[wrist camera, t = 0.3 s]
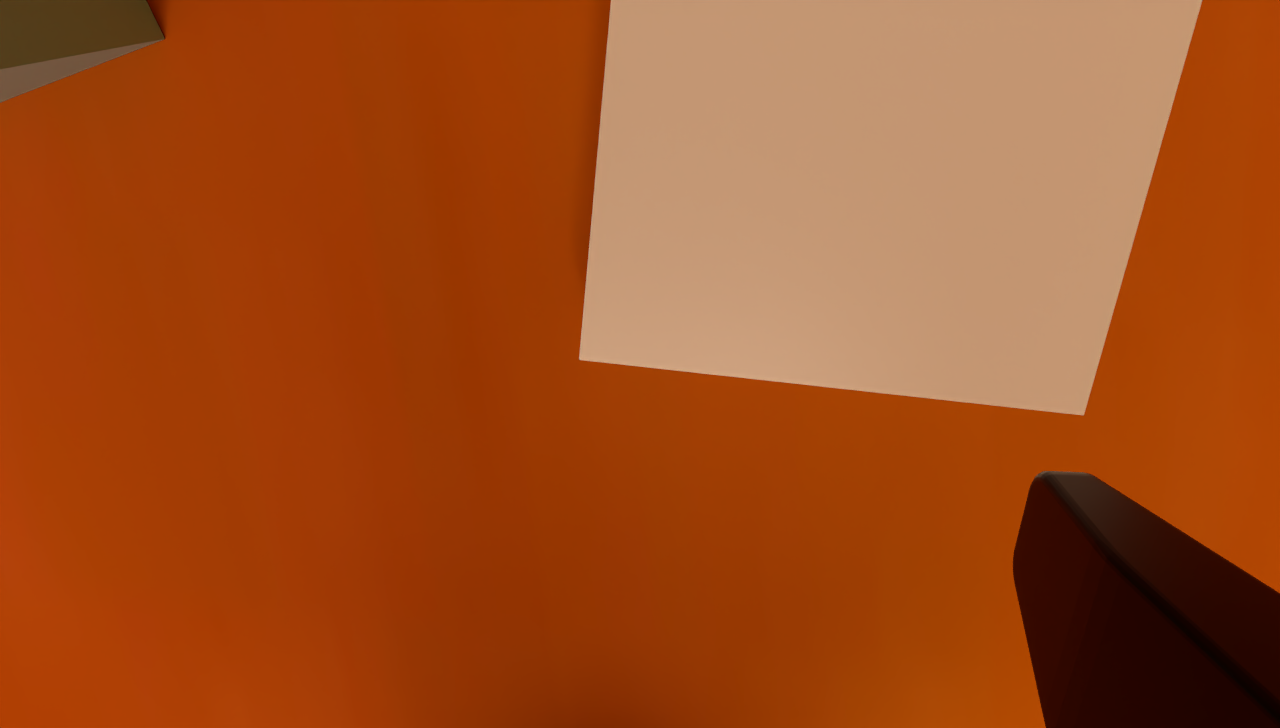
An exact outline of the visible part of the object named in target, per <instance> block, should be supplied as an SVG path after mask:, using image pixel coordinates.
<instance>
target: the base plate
mask: <svg viewBox="0 0 1280 728" xmlns="http://www.w3.org/2000/svg"><path fill="white" fill-rule="evenodd" d="M1201 3H1202V0H611V6H610V18H609V29H608V40H607V51H606V62H605V74H604V85H603V96H602V107H601V119H600V130H599V141H598V152H597V164H596V175H595V186H594V197H593V208H592V220H591V231H590V242H589V253H588V265H587V276H586V287H585V298H584V310H583V321H582V332H581V343H580V355H579V360H585V361H594V362H603V363H612V364H622V365H631V366H640V367H649V368H658V369H667V370H676V371H685V372H694V373H703V374H712V375H721V376H731V377H740V378H749V379H758V380H767V381H776V382H785V383H794V384H803V385H812V386H821V387H830V388H840V389H849V390H858V391H867V392H876V393H885V394H894V395H903V396H912V397H921V398H930V399H939V400H949V401H958V402H967V403H976V404H985V405H994V406H1003V407H1012V408H1021V409H1030V410H1039V411H1048V412H1057V413H1067V414H1076V415H1084V413H1085V409H1086V406H1087V402H1088V399H1089V395H1090V392H1091V388H1092V385H1093V381H1094V377H1095V374H1096V370H1097V367H1098V363H1099V360H1100V356H1101V353H1102V349H1103V346H1104V342H1105V339H1106V335H1107V332H1108V328H1109V325H1110V321H1111V318H1112V314H1113V311H1114V307H1115V304H1116V300H1117V297H1118V293H1119V290H1120V286H1121V283H1122V279H1123V276H1124V272H1125V269H1126V265H1127V262H1128V258H1129V255H1130V251H1131V248H1132V244H1133V241H1134V237H1135V234H1136V230H1137V227H1138V223H1139V220H1140V216H1141V213H1142V209H1143V206H1144V202H1145V199H1146V195H1147V192H1148V188H1149V185H1150V181H1151V178H1152V174H1153V171H1154V167H1155V164H1156V160H1157V157H1158V153H1159V150H1160V146H1161V143H1162V139H1163V136H1164V132H1165V129H1166V125H1167V122H1168V118H1169V115H1170V111H1171V108H1172V104H1173V101H1174V97H1175V94H1176V90H1177V87H1178V83H1179V80H1180V76H1181V73H1182V69H1183V66H1184V62H1185V59H1186V55H1187V52H1188V48H1189V45H1190V41H1191V38H1192V34H1193V31H1194V27H1195V24H1196V20H1197V17H1198V13H1199V10H1200V6H1201Z"/></svg>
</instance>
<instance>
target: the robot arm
mask: <svg viewBox="0 0 1280 728" xmlns="http://www.w3.org/2000/svg"><path fill="white" fill-rule="evenodd" d="M1013 575H1014V582H1015V587H1016V592H1017V596H1018V601H1019V606H1020V610H1021V615H1022V620H1023V624H1024V629H1025V634H1026V638H1027V643H1028V648H1029V652H1030V657H1031V661H1032V666H1033V671H1034V675H1035V680H1036V685H1037V689H1038V694H1039V699H1040V703H1041V708H1042V713H1043V717H1044V721H1045V726H1046V728H1280V593H1278V592H1277V591H1275V590H1274V589H1272V588H1270V587H1269V586H1267V585H1266V584H1264V583H1263V582H1261V581H1259V580H1258V579H1256V578H1255V577H1253V576H1251V575H1250V574H1248V573H1247V572H1245V571H1244V570H1242V569H1240V568H1239V567H1237V566H1236V565H1234V564H1232V563H1231V562H1229V561H1228V560H1226V559H1225V558H1223V557H1221V556H1220V555H1218V554H1217V553H1215V552H1214V551H1212V550H1210V549H1209V548H1207V547H1206V546H1204V545H1202V544H1201V543H1199V542H1198V541H1196V540H1195V539H1193V538H1191V537H1190V536H1188V535H1187V534H1185V533H1184V532H1182V531H1180V530H1179V529H1177V528H1176V527H1174V526H1172V525H1171V524H1169V523H1168V522H1166V521H1165V520H1163V519H1161V518H1160V517H1158V516H1157V515H1155V514H1153V513H1152V512H1150V511H1149V510H1147V509H1146V508H1144V507H1142V506H1141V505H1139V504H1138V503H1136V502H1135V501H1133V500H1131V499H1130V498H1128V497H1127V496H1125V495H1123V494H1122V493H1120V492H1119V491H1117V490H1116V489H1114V488H1112V487H1111V486H1109V485H1108V484H1106V483H1105V482H1103V481H1101V480H1100V479H1098V478H1097V477H1095V476H1093V475H1091V474H1088V473H1083V472H1058V471H1044V472H1041V473H1039V474H1038V475H1037V476H1036V477H1035V478H1034V480H1033V482H1032V484H1031V486H1030V489H1029V493H1028V497H1027V501H1026V505H1025V509H1024V513H1023V517H1022V521H1021V525H1020V529H1019V533H1018V538H1017V542H1016V546H1015V550H1014V557H1013Z"/></svg>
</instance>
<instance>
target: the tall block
mask: <svg viewBox="0 0 1280 728" xmlns="http://www.w3.org/2000/svg"><path fill="white" fill-rule="evenodd" d="M164 39H165V38H164V36H163V34H162V32H161V30H160V28H159V26H158V24H157V21H156V19H155V17H154V15H153V13H152V11H151V9H150V7H149V5H148V3H147V1H146V0H0V102H2V101H5V100H8V99H10V98H13V97H15V96H18V95H21V94H23V93H26V92H28V91H31V90H34V89H36V88H39V87H41V86H44V85H47V84H49V83H52V82H54V81H57V80H60V79H62V78H65V77H67V76H70V75H73V74H75V73H78V72H80V71H83V70H86V69H88V68H91V67H93V66H96V65H99V64H101V63H104V62H106V61H109V60H112V59H114V58H117V57H119V56H122V55H125V54H127V53H130V52H132V51H135V50H138V49H140V48H143V47H145V46H148V45H151V44H153V43H156V42H158V41H161V40H164Z"/></svg>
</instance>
